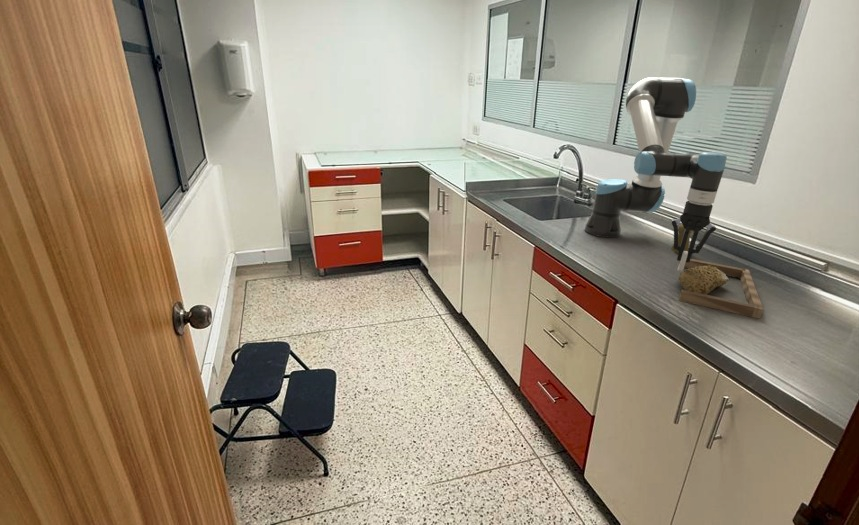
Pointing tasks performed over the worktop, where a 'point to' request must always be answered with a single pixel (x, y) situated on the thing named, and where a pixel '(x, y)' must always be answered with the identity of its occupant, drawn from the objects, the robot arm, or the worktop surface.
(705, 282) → the sponge
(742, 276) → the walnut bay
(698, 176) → the robot arm
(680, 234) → the olive waisted cylinder
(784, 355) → the worktop surface
